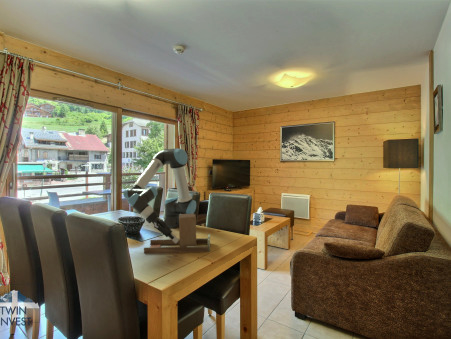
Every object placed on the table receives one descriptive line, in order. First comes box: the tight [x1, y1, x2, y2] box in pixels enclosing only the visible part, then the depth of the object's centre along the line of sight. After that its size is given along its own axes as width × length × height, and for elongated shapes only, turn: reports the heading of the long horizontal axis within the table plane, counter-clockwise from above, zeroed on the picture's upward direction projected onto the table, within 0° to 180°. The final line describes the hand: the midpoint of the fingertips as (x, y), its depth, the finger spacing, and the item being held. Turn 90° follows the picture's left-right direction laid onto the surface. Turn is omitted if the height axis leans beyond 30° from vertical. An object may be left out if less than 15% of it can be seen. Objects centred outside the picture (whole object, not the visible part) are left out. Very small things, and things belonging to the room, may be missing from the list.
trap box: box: [143, 233, 211, 254], centre depth 149 cm, size 15×38×6 cm, turn 92°
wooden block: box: [178, 213, 197, 247], centre depth 150 cm, size 10×10×20 cm
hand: (177, 241), depth 148 cm, fingers closed
